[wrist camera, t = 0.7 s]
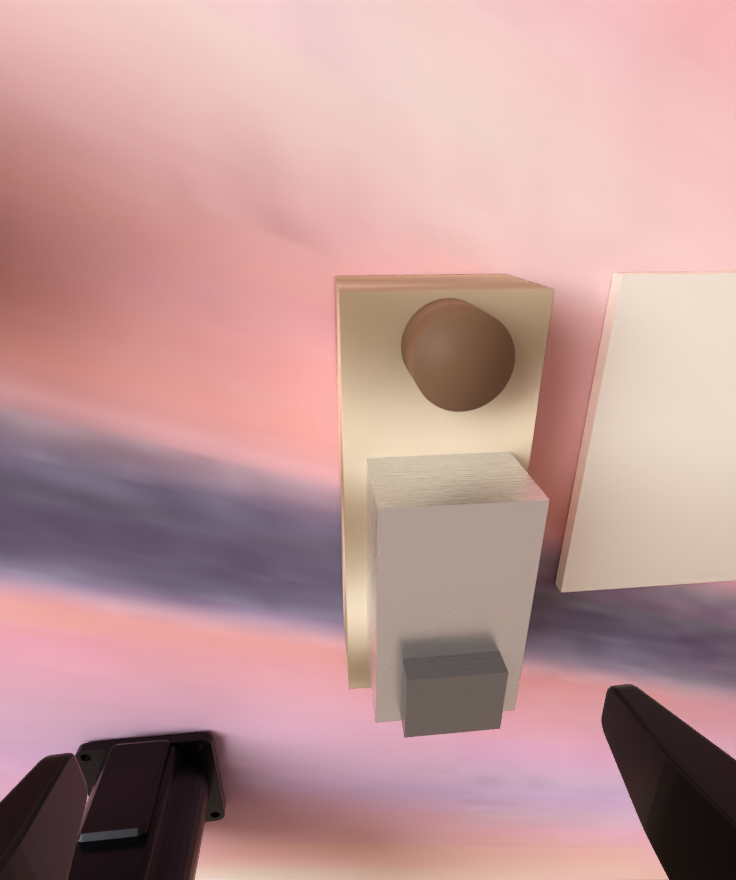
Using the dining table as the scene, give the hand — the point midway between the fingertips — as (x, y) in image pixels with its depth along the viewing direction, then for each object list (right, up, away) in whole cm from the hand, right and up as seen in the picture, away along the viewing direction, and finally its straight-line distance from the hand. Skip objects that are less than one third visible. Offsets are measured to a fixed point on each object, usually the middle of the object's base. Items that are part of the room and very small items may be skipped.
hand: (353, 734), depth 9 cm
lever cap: (+3, +1, +9) cm, 9 cm away
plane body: (+2, +4, +12) cm, 13 cm away
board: (+14, +5, +13) cm, 20 cm away
